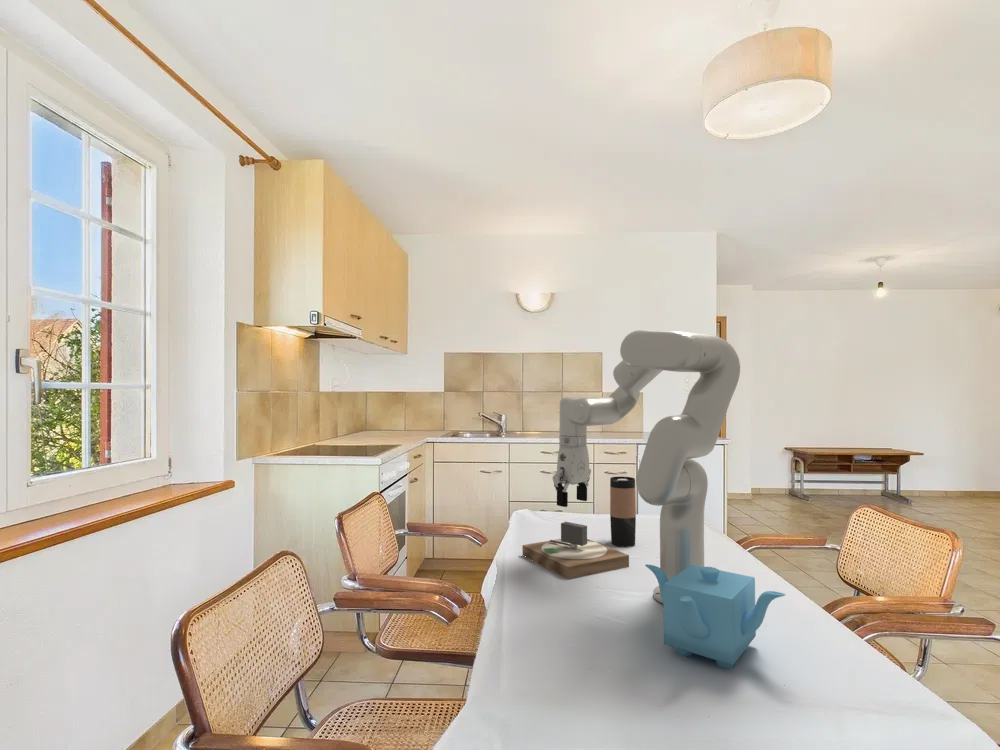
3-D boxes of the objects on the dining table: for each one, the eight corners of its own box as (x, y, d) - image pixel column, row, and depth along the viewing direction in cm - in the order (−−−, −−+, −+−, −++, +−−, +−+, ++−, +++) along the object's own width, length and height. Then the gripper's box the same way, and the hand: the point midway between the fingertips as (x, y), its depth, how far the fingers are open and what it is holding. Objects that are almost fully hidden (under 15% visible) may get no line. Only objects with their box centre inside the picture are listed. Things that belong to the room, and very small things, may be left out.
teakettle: (731, 626, 109) (730, 552, 109) (791, 674, 90) (789, 585, 91) (640, 631, 107) (639, 555, 107) (682, 681, 88) (681, 590, 89)
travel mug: (634, 540, 170) (633, 476, 170) (637, 547, 162) (637, 480, 163) (609, 540, 171) (608, 476, 171) (611, 547, 163) (611, 480, 164)
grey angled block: (587, 548, 149) (587, 525, 149) (582, 550, 147) (582, 527, 147) (552, 540, 156) (552, 519, 157) (548, 542, 155) (547, 520, 155)
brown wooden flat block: (629, 566, 145) (628, 553, 145) (568, 579, 136) (567, 564, 136) (579, 545, 165) (578, 533, 165) (522, 555, 155) (522, 543, 155)
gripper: (566, 445, 142) (565, 510, 142) (600, 440, 155) (600, 500, 155) (543, 442, 147) (542, 506, 147) (578, 438, 160) (577, 496, 160)
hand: (572, 503), depth 151 cm, fingers open, 9 cm apart
